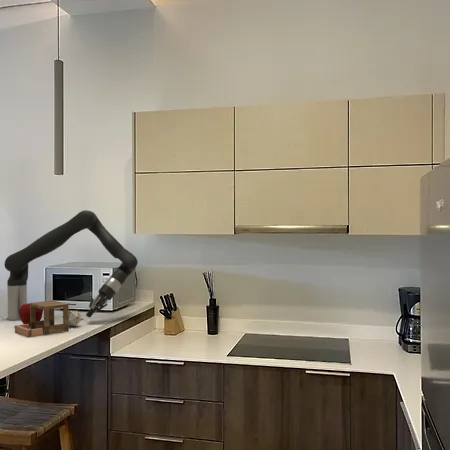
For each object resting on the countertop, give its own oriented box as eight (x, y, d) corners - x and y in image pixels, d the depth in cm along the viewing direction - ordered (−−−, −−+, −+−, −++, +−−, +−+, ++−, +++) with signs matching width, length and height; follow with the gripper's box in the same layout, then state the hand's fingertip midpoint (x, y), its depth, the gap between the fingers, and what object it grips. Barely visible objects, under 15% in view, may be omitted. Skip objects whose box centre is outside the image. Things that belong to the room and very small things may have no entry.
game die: (69, 334, 239) (62, 316, 243) (86, 326, 241) (79, 308, 246) (65, 328, 231) (58, 309, 235) (83, 320, 234) (76, 302, 238)
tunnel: (30, 329, 232) (29, 303, 232) (53, 326, 240) (52, 300, 240) (45, 335, 221) (45, 306, 221) (68, 331, 228) (68, 304, 228)
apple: (43, 323, 248) (43, 299, 248) (44, 327, 238) (43, 302, 238) (18, 325, 244) (18, 300, 244) (18, 329, 234) (18, 303, 234)
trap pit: (14, 332, 227) (14, 325, 227) (28, 330, 231) (28, 323, 231) (28, 337, 216) (28, 330, 216) (42, 335, 221) (42, 328, 221)
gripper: (98, 282, 255) (75, 309, 247) (112, 284, 246) (89, 313, 237) (107, 292, 259) (85, 319, 250) (121, 294, 249) (99, 323, 241)
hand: (87, 316), depth 244 cm, fingers closed
